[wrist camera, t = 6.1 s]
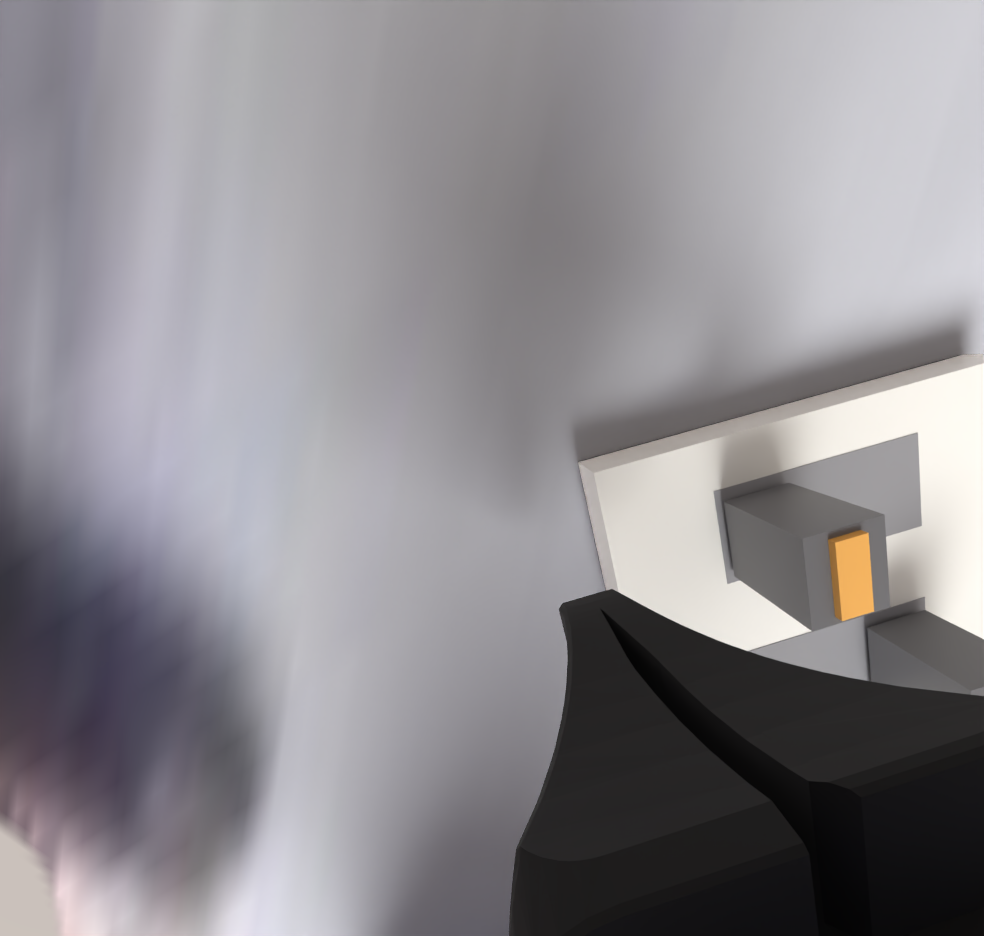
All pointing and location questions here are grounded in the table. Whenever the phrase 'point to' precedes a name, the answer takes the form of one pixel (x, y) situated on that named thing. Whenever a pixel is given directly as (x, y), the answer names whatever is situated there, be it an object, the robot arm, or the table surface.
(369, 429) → the table surface
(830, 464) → the breaker panel
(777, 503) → the breaker
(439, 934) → the table surface
